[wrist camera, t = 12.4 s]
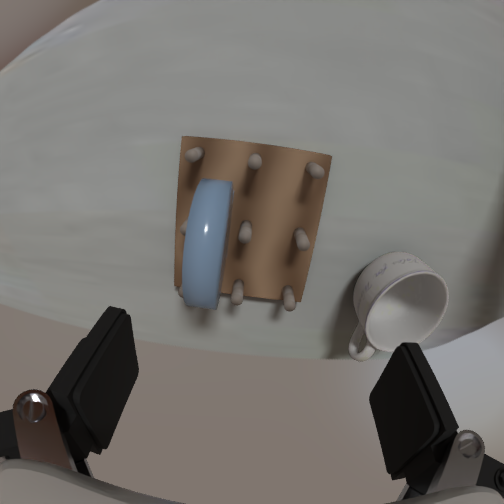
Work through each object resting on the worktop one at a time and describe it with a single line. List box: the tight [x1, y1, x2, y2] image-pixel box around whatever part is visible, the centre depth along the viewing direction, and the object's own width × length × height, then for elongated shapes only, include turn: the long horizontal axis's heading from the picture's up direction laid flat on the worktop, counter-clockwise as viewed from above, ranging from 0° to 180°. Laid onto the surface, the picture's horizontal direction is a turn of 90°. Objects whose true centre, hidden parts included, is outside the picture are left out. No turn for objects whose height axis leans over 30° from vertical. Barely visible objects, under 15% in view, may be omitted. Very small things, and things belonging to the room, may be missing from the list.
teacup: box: [348, 252, 449, 361], centre depth 32 cm, size 14×11×8 cm
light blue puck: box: [182, 178, 234, 310], centre depth 26 cm, size 2×11×12 cm, turn 173°
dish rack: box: [174, 136, 332, 311], centre depth 30 cm, size 15×17×5 cm
